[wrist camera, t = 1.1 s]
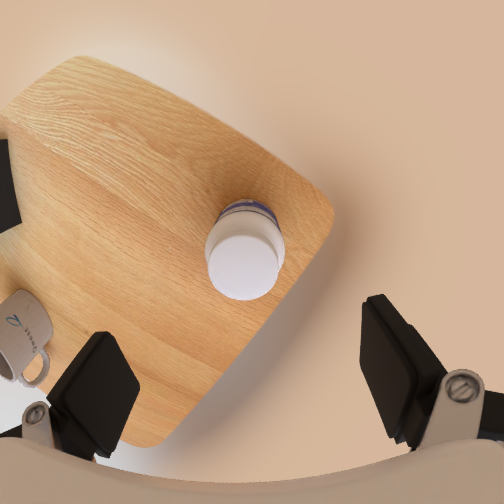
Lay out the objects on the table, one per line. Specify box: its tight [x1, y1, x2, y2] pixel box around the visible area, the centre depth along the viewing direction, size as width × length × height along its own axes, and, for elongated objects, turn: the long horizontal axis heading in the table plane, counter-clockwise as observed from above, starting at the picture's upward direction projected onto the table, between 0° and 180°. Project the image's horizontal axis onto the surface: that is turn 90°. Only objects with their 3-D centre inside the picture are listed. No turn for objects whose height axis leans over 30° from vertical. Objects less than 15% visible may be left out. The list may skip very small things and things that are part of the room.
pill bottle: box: [205, 199, 285, 300], centre depth 19 cm, size 5×5×9 cm
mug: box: [0, 289, 53, 388], centre depth 24 cm, size 12×9×10 cm
